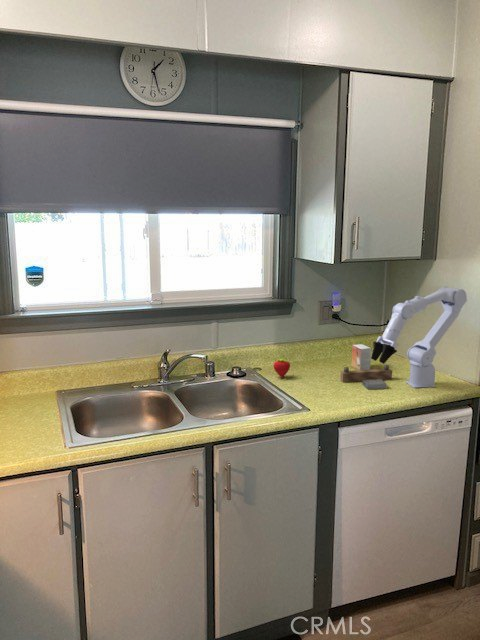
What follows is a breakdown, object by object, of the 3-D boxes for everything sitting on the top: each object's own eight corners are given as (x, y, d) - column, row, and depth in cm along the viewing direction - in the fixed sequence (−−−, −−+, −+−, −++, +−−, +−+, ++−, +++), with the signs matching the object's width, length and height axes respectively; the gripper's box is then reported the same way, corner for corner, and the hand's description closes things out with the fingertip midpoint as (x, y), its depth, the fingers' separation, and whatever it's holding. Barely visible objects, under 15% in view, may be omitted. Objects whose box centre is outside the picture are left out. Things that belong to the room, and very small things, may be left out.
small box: (351, 366, 250) (351, 344, 248) (361, 365, 252) (362, 343, 249) (359, 371, 242) (360, 348, 240) (370, 370, 244) (371, 347, 242)
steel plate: (380, 384, 225) (380, 379, 224) (386, 389, 219) (386, 383, 218) (362, 385, 224) (362, 380, 223) (367, 390, 218) (367, 384, 217)
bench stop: (388, 377, 233) (389, 364, 232) (391, 379, 230) (392, 366, 229) (340, 380, 230) (340, 366, 229) (342, 382, 227) (343, 368, 226)
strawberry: (271, 376, 237) (271, 354, 235) (287, 374, 239) (287, 353, 237) (275, 380, 231) (275, 357, 229) (292, 378, 233) (292, 356, 231)
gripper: (377, 324, 219) (361, 354, 219) (392, 328, 205) (376, 359, 205) (391, 332, 220) (376, 361, 220) (407, 336, 206) (391, 367, 206)
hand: (377, 361), depth 213 cm, fingers open, 7 cm apart
